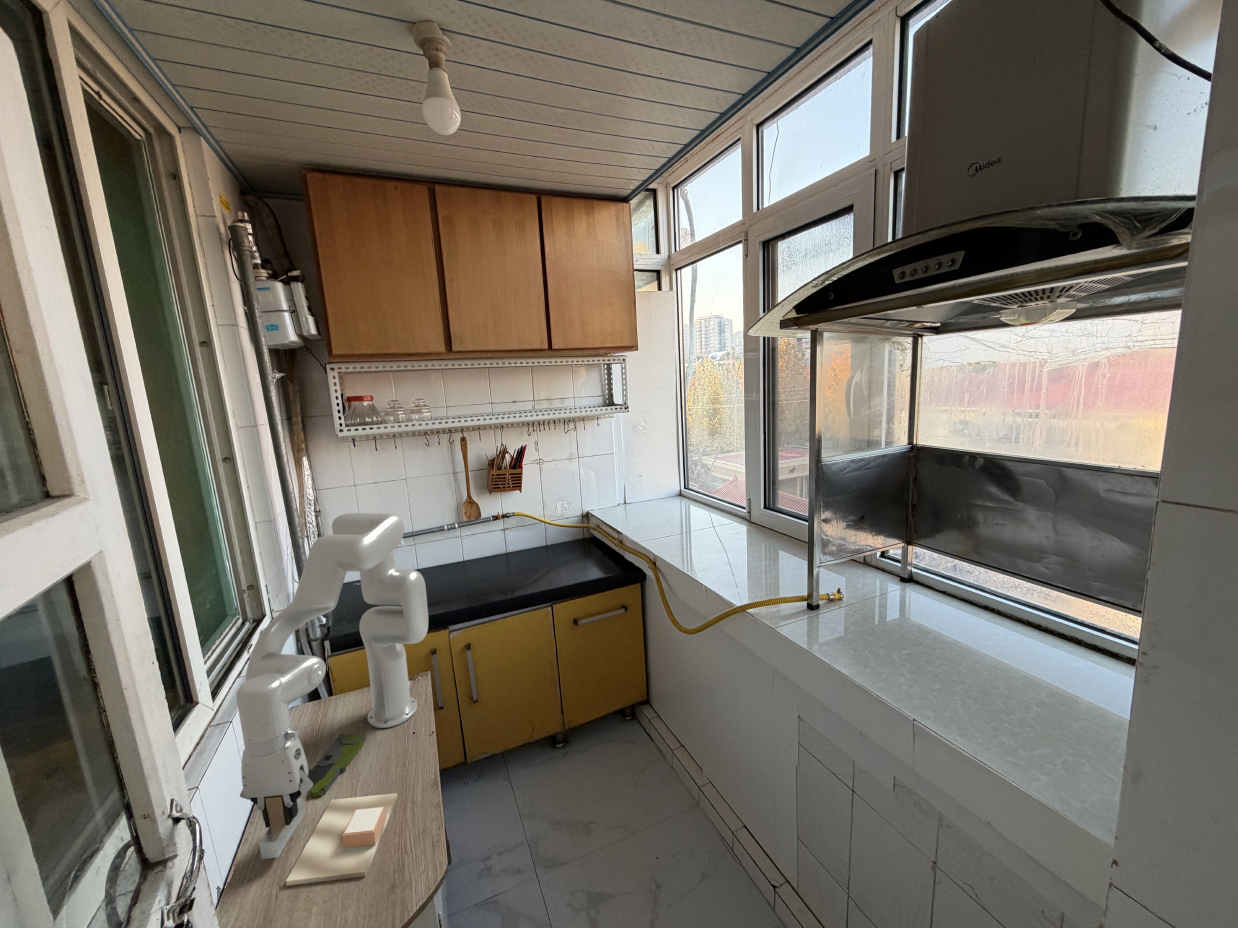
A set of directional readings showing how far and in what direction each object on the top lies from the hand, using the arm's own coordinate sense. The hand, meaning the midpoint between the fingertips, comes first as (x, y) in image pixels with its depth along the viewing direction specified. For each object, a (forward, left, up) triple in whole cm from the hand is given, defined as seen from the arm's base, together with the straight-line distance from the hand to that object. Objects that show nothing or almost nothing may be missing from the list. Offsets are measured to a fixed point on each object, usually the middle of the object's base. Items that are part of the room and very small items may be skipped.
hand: (281, 819), depth 98 cm
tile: (+1, +16, -5) cm, 17 cm away
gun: (-21, -3, -6) cm, 22 cm away
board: (0, +12, -6) cm, 13 cm away
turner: (0, 0, -4) cm, 4 cm away
